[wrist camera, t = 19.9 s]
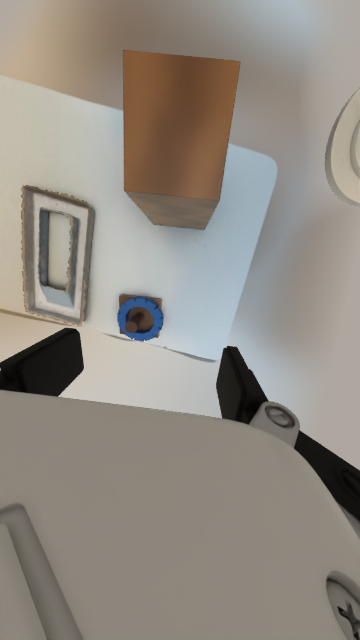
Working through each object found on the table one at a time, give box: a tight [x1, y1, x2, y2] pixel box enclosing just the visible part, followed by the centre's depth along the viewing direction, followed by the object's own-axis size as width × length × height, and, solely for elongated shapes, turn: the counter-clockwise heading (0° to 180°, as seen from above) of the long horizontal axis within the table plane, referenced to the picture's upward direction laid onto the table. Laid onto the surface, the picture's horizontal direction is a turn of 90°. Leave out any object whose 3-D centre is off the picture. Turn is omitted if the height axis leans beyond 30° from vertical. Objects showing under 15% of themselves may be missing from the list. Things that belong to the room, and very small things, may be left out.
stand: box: [123, 50, 240, 230], centre depth 23 cm, size 10×10×16 cm
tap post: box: [119, 295, 162, 338], centre depth 35 cm, size 9×9×8 cm
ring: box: [118, 297, 163, 341], centre depth 36 cm, size 10×10×2 cm
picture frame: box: [21, 185, 94, 327], centre depth 34 cm, size 13×25×3 cm, turn 166°
